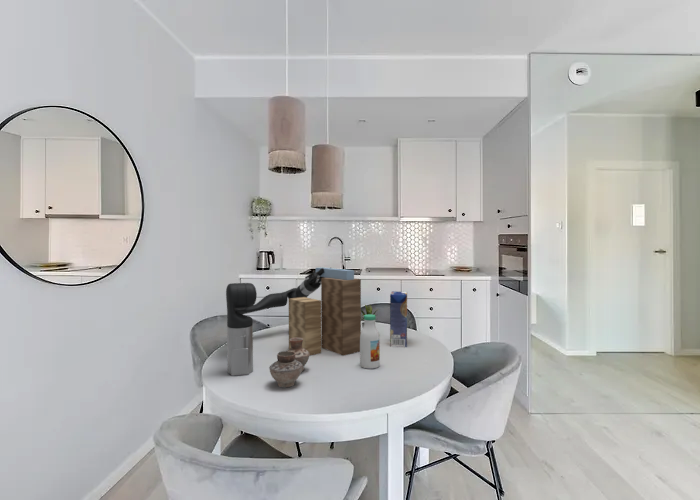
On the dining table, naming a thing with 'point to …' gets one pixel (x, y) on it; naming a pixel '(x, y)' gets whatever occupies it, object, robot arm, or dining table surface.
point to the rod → (337, 273)
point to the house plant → (367, 312)
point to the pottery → (289, 363)
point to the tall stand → (341, 315)
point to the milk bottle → (369, 343)
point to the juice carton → (398, 319)
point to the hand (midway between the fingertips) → (327, 269)
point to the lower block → (306, 323)
